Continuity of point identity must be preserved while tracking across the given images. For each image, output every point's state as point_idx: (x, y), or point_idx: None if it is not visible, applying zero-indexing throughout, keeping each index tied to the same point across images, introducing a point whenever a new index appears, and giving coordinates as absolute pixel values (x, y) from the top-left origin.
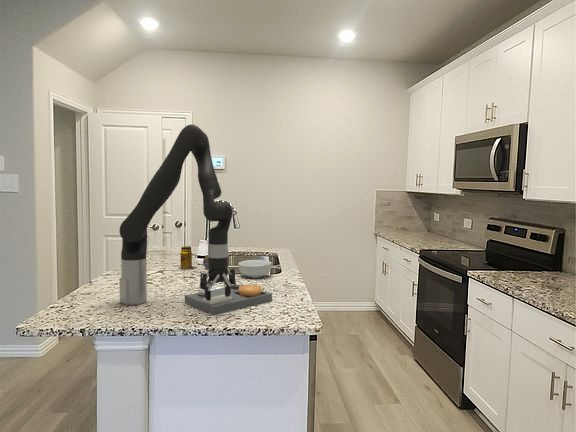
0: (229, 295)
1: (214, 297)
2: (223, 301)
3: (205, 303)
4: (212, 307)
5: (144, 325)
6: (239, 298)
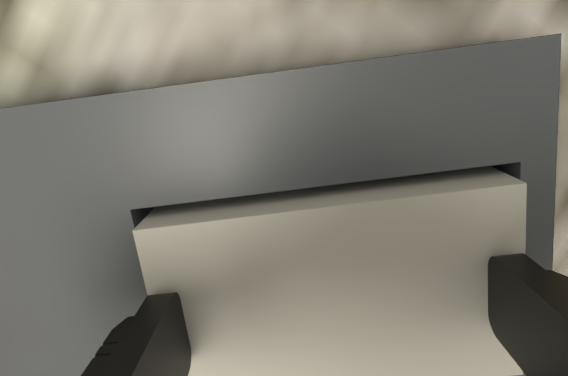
0: (151, 295)
1: (361, 352)
2: (297, 200)
3: (544, 247)
4: (553, 56)
5: None
6: (33, 211)
